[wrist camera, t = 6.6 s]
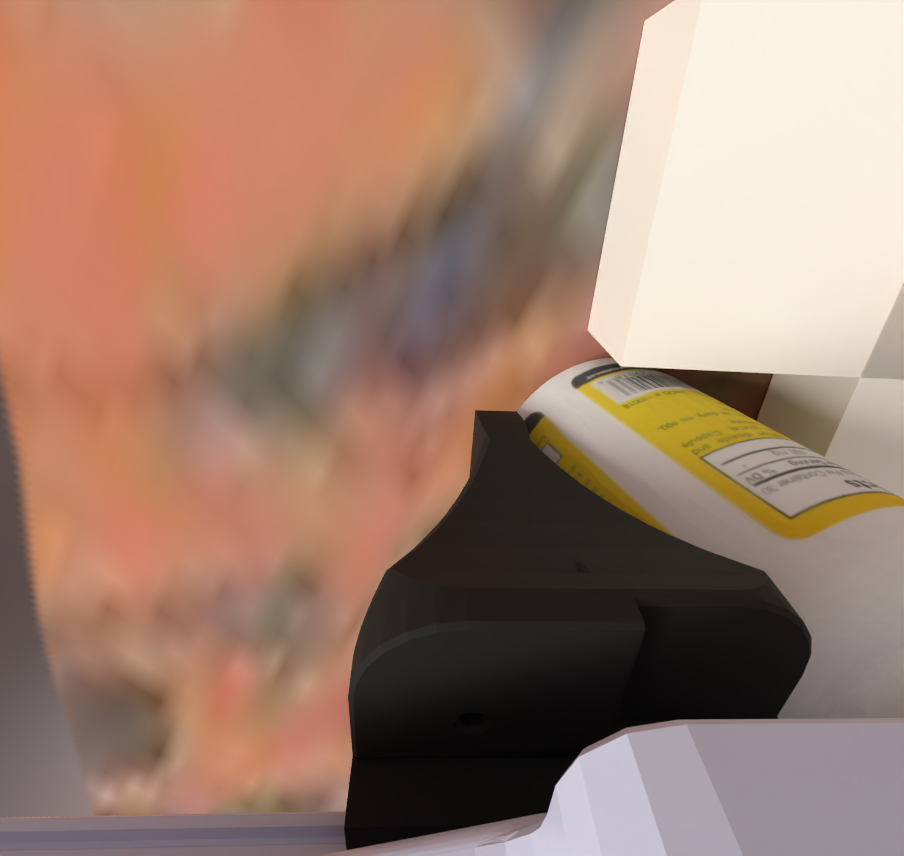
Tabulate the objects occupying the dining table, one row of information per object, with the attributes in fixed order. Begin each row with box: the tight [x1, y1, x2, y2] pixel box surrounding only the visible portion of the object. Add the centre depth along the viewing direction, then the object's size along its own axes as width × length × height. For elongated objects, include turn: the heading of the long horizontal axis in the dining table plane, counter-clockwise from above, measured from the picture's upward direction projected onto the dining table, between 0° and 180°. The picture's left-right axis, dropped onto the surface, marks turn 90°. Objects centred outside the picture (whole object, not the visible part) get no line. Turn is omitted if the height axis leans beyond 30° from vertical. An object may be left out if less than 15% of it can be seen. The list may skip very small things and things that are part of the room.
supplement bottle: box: [517, 358, 904, 719], centre depth 9 cm, size 5×5×10 cm
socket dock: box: [588, 0, 904, 499], centre depth 13 cm, size 19×8×3 cm, turn 177°
